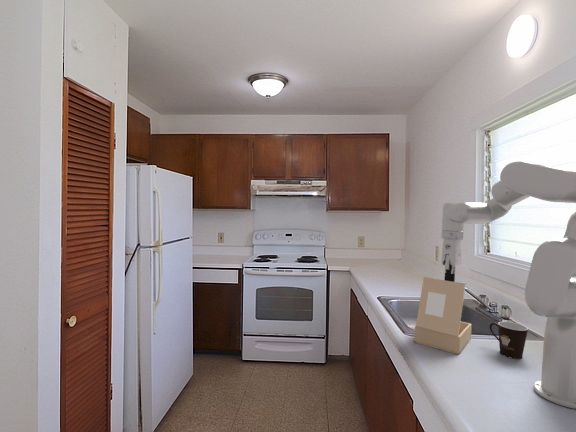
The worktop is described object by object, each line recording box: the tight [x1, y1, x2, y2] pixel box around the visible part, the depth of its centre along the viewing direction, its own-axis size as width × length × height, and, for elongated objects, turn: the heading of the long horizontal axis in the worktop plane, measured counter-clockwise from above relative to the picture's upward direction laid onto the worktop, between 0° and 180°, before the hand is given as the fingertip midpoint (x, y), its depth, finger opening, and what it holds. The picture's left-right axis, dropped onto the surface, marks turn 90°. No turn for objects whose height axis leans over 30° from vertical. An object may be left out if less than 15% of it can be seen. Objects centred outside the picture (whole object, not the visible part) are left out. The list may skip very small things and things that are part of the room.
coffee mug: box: [489, 321, 529, 360], centre depth 120 cm, size 12×9×10 cm
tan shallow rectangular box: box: [413, 321, 472, 355], centre depth 129 cm, size 15×18×6 cm
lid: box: [415, 277, 466, 336], centre depth 123 cm, size 14×18×1 cm
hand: (449, 283), depth 132 cm, fingers closed
